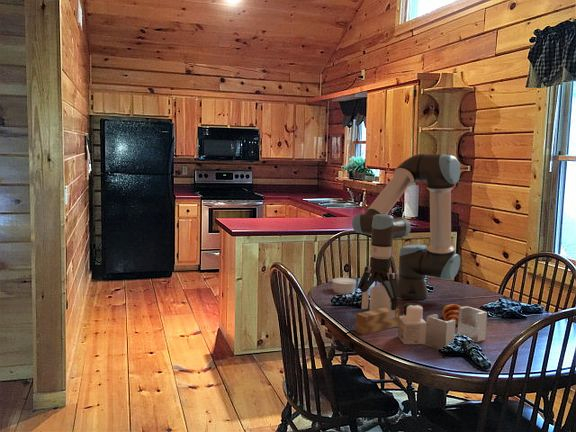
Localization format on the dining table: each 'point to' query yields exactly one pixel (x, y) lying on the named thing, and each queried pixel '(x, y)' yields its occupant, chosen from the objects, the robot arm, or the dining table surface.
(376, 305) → the mug
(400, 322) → the container
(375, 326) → the rail
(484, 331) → the brackets
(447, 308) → the croissant
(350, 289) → the ramekin
